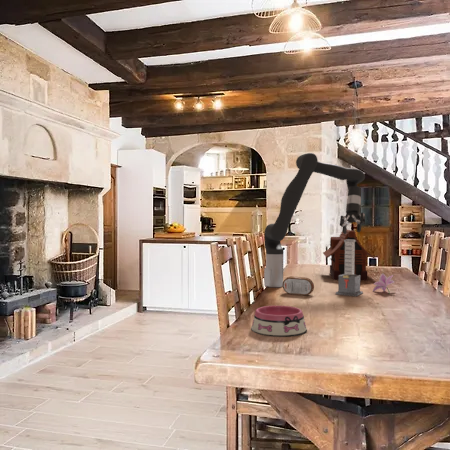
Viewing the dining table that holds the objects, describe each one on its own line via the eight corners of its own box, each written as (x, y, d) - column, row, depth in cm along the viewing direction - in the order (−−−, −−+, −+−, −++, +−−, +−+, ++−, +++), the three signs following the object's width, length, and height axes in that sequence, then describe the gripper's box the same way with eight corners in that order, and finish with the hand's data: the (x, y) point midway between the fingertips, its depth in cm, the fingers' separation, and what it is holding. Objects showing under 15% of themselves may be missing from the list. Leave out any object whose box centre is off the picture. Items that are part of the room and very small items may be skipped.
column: (352, 292, 219) (352, 240, 218) (343, 291, 221) (343, 239, 220) (355, 291, 222) (355, 239, 222) (346, 290, 225) (346, 239, 224)
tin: (314, 295, 218) (314, 277, 218) (312, 296, 215) (312, 278, 215) (283, 292, 224) (283, 275, 224) (281, 293, 221) (281, 276, 221)
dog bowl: (268, 340, 141) (268, 318, 141) (241, 326, 158) (241, 306, 158) (318, 334, 148) (318, 313, 148) (287, 321, 165) (288, 302, 165)
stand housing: (355, 296, 214) (356, 276, 214) (335, 294, 220) (335, 274, 220) (362, 293, 223) (362, 274, 223) (342, 291, 229) (342, 272, 228)
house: (322, 272, 301) (322, 228, 300) (366, 273, 297) (367, 229, 296) (326, 280, 266) (326, 230, 266) (376, 281, 262) (377, 231, 262)
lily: (398, 293, 229) (391, 276, 233) (402, 288, 218) (394, 269, 222) (375, 300, 230) (368, 283, 234) (378, 295, 219) (370, 276, 223)
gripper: (338, 204, 255) (336, 232, 250) (361, 200, 245) (359, 229, 240) (346, 209, 260) (343, 236, 255) (368, 205, 250) (366, 233, 245)
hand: (351, 232), depth 248 cm, fingers open, 8 cm apart
